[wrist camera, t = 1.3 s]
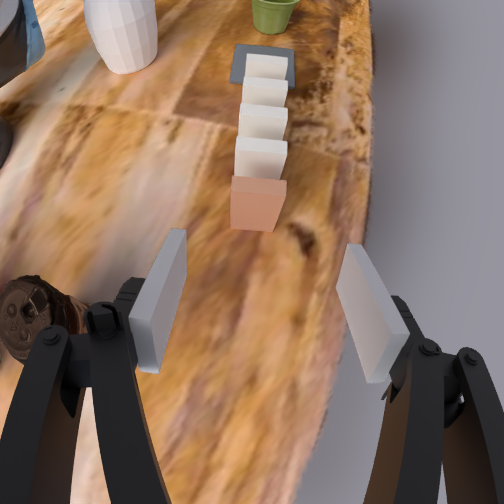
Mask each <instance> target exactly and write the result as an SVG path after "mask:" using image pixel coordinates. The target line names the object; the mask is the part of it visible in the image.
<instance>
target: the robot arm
mask: <svg viewBox="0 0 504 504" xmlns="http://www.w3.org/2000/svg"><path fill="white" fill-rule="evenodd" d="M44 53H45V43H44V39H43V36H42V32H41V29H40V26H39V23H38V19H37V15H36V11H35V8H34V4H33V1H32V0H0V88H1V87H3V86H4V85H5V84H7V83H8V82H10V81H11V80H12V79H14V78H15V77H17V76H18V75H20V74H21V73H23V72H25V71H26V70H27V69H28V68H29V67H30V66H32V65H33V64H34V63H36V62H37V61H39V60H40V59H41V58H42V57H43V55H44ZM11 142H12V128H11V126H10V124H9V123H8V122H7V121H6V120H5V118H4V117H2V116H1V115H0V167H1V166H2V164H3V162H4V160H5V159H6V156H7V154H8V152H9V149H10V146H11ZM186 278H187V260H186V229H172V228H171V230H170V232H169V234H168V235H167V237H166V239H165V241H164V243H163V245H162V247H161V249H160V251H159V253H158V255H157V257H156V259H155V261H154V263H153V265H152V267H151V270H150V272H149V274H148V276H147V278H146V279H144V278H135V277H131V278H130V279H129V280H127V281H126V282H125V283H124V284H123V285H122V287H121V289H120V291H119V293H118V295H117V296H116V299H115V300H114V302H113V303H111V302H99V303H95V304H93V305H91V306H90V307H88V308H87V309H86V311H85V312H84V315H83V318H84V321H85V325H86V328H87V331H88V333H84V334H74V335H69V334H68V332H67V330H66V329H65V328H64V327H63V326H60V325H50V326H47V327H44V328H43V329H42V330H40V331H39V333H38V334H37V336H36V338H35V340H34V342H33V345H32V347H31V350H30V352H29V355H28V357H27V360H26V362H25V365H24V367H23V370H22V373H21V375H20V378H19V381H18V384H17V387H16V390H15V392H14V395H13V398H12V401H11V405H10V408H9V411H8V414H7V418H6V421H5V424H4V428H3V432H2V435H1V439H0V504H70V495H71V484H72V474H73V465H74V457H75V449H76V442H77V436H78V429H79V423H80V417H81V412H82V406H83V401H84V396H85V391H86V387H92V396H93V405H94V414H95V422H96V429H97V436H98V442H99V448H100V454H101V459H102V465H103V470H104V475H105V479H106V484H107V488H108V493H109V497H110V501H111V504H172V503H171V500H170V497H169V494H168V492H167V489H166V486H165V483H164V480H163V477H162V474H161V470H160V467H159V464H158V461H157V457H156V454H155V451H154V447H153V444H152V440H151V437H150V433H149V429H148V425H147V422H146V418H145V414H144V410H143V405H142V401H141V397H140V392H139V388H138V383H137V379H136V375H135V369H136V366H137V363H138V366H139V370H140V371H142V372H149V373H156V374H159V372H160V369H161V365H162V361H163V357H164V354H165V350H166V346H167V343H168V339H169V336H170V332H171V328H172V325H173V321H174V318H175V314H176V311H177V308H178V304H179V301H180V297H181V294H182V291H183V287H184V284H185V281H186ZM336 290H337V293H338V296H339V298H340V301H341V304H342V307H343V310H344V313H345V316H346V319H347V322H348V325H349V328H350V331H351V334H352V337H353V340H354V343H355V346H356V350H357V353H358V356H359V359H360V362H361V365H362V369H363V372H364V375H365V379H366V382H367V383H383V382H384V381H385V379H386V378H387V376H388V374H390V376H391V379H392V382H391V383H390V385H389V386H388V388H387V390H386V391H385V393H384V394H383V396H382V399H381V400H384V399H385V397H386V396H387V399H386V405H385V411H384V417H383V422H382V428H381V433H380V437H379V442H378V447H377V452H376V456H375V460H374V465H373V469H372V473H371V477H370V481H369V484H368V488H367V492H366V495H365V499H364V502H363V504H437V500H438V493H439V485H440V476H441V465H442V464H443V471H444V478H445V486H446V495H447V503H448V504H504V412H503V409H502V406H501V403H500V400H499V398H498V395H497V392H496V390H495V387H494V384H493V382H492V379H491V377H490V374H489V372H488V369H487V367H486V364H485V362H484V360H483V358H482V356H481V355H480V354H479V353H478V352H477V351H476V350H474V349H472V348H468V347H465V348H462V349H460V350H459V352H458V353H457V355H452V354H447V353H443V352H442V351H441V348H440V347H439V345H438V344H437V343H435V342H434V341H432V340H430V339H427V338H425V337H424V335H423V334H422V332H421V330H420V328H419V326H418V324H417V323H416V321H415V319H414V318H413V315H412V314H411V312H410V310H409V309H408V306H407V305H406V303H405V302H404V301H403V300H402V299H401V298H399V296H390V294H389V292H388V291H387V289H386V287H385V285H384V283H383V282H382V280H381V278H380V276H379V275H378V273H377V271H376V269H375V268H374V266H373V264H372V262H371V260H370V259H369V257H368V255H367V254H366V252H365V250H364V248H363V247H362V245H360V244H349V243H348V244H347V247H346V251H345V255H344V259H343V263H342V267H341V271H340V274H339V278H338V282H337V285H336ZM462 395H463V397H464V402H463V403H462V402H461V398H460V397H461V396H462Z"/></svg>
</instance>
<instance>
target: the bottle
mask: <svg viewBox="0 0 504 504" xmlns="http://www.w3.org/2000/svg"><path fill="white" fill-rule="evenodd" d="M84 16H85V23H86V26H87V28H88V31H89V33H90V35H91V38H92V40H93V42H94V44H95V47H96V49H97V51H98V52H99V54H100V56H101V57H102V59H103V60H104V62H105V64H106V65H107V67H108V68H109V70H111V71H112V72H114V73H117V74H130V73H134V72H137V71H140V70H142V69H144V68H145V67H147V66H148V65H149V64H150V63H151V62H152V61H153V60H154V59H155V57H156V55H157V34H158V30H157V21H156V12H155V2H154V0H84Z"/></svg>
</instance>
